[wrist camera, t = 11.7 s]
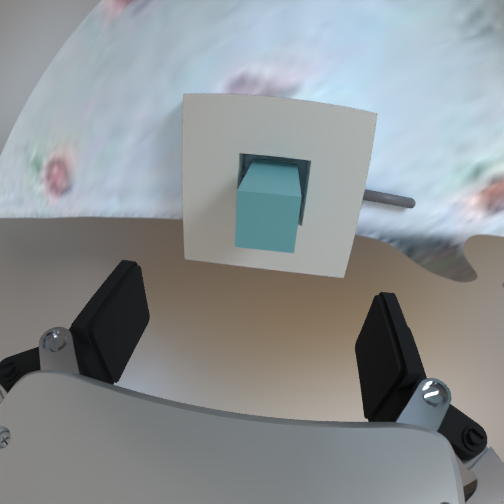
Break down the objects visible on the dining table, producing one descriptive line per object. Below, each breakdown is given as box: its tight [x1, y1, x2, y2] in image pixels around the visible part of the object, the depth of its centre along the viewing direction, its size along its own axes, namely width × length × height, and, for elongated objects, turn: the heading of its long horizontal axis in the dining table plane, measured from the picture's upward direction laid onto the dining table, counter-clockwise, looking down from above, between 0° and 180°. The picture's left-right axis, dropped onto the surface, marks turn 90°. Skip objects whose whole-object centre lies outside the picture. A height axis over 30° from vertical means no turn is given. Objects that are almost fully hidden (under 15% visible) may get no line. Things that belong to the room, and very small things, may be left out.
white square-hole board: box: [182, 94, 415, 278], centre depth 26 cm, size 22×16×3 cm
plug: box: [235, 159, 302, 253], centre depth 23 cm, size 4×4×10 cm
